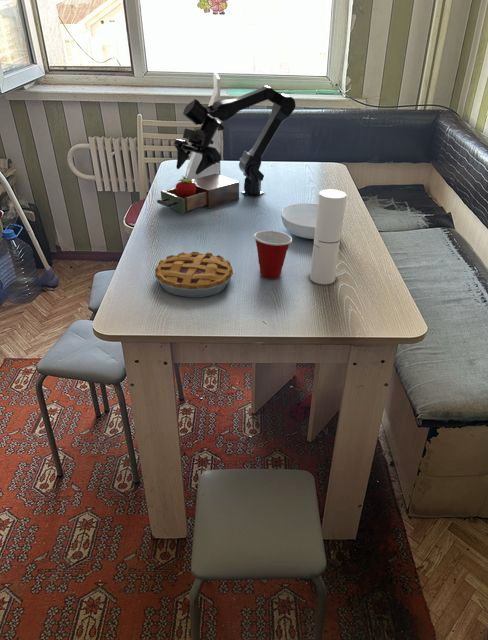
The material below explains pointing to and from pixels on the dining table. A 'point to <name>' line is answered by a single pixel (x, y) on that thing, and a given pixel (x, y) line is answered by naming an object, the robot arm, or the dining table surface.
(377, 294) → the dining table surface
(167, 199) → the drawer
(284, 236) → the plastic cup
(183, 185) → the strawberry
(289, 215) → the serving bowl
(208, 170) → the white bracket plate
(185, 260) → the pie
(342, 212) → the cylindrical container
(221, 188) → the cabinet
